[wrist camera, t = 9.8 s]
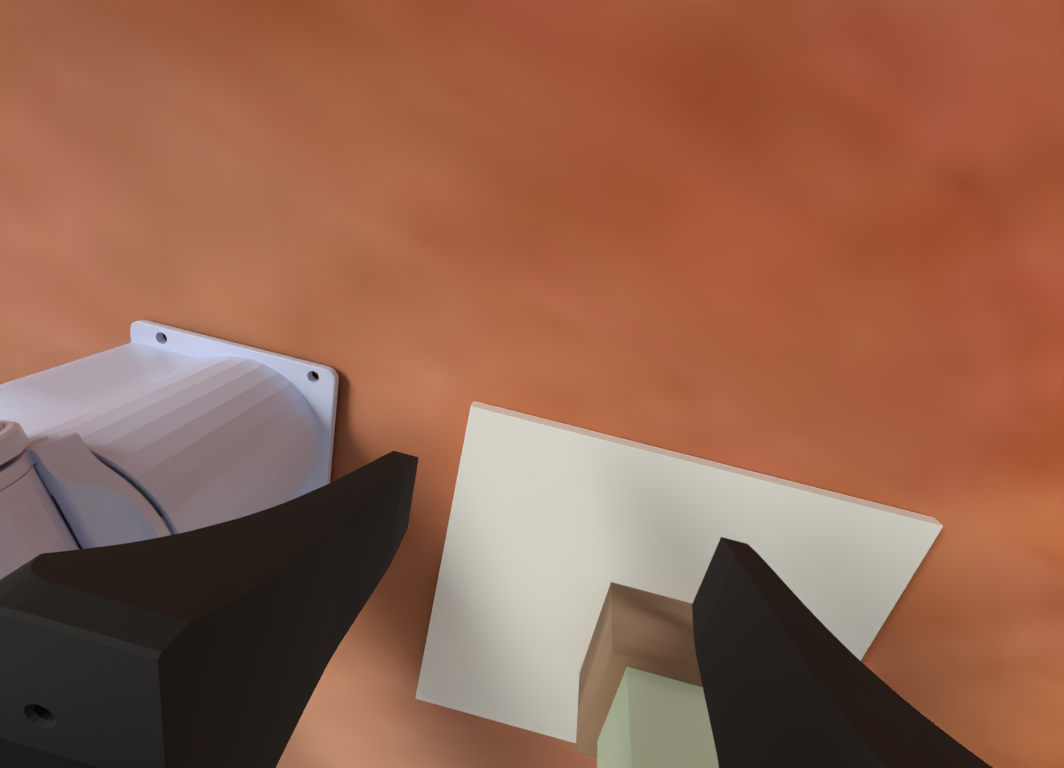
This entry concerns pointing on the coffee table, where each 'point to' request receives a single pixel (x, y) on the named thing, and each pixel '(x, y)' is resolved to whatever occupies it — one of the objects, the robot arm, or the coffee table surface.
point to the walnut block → (632, 652)
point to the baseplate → (625, 556)
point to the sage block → (656, 725)
